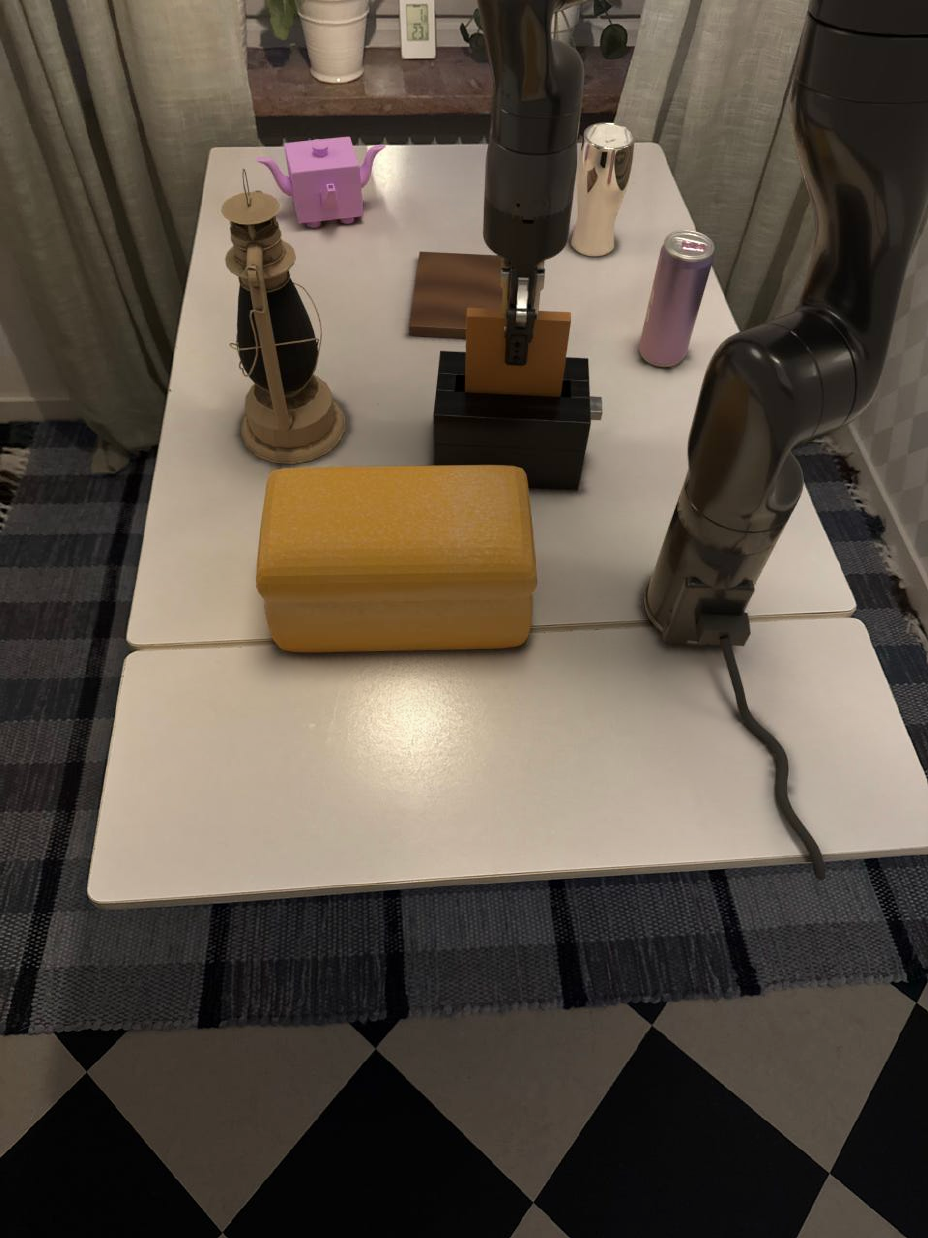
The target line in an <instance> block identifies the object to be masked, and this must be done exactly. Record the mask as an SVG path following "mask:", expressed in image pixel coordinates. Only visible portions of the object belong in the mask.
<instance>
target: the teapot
mask: <svg viewBox="0 0 928 1238" xmlns="http://www.w3.org/2000/svg"><path fill="white" fill-rule="evenodd" d="M283 146H284V147H283V148H284V153H285V161H286V166H287V172H288V173H287V174H288V175H285V174H284V173H283V172H282V171H281V169H280V168H279V165H278V164H277V162H276V161H275V160H274V159H272V158H270V157H267V156H266V157H265V156H263V157H262V156H261V157H256V158H255V159H254V161H256V162H257V163H260V164H263V165H264V166H265V167H267V168H268V170H269V171H270V173H271V175H272V176H273V179H274V181H275V183H276V186H277V187H278V188H279V189H280V191H281V192H282V193H283V194H284V195H286V196H287V197H291V198H292V201H293V206H294V209H295V214H296V218H297V222H298V224H306V225H307V226H308V227H309V228H312V229H313V228H319V227H320V226H321V225H322V222H325V221H332V220H340V222H341V223H342V224H345V225H346V224H347V225H348V224H352V223H353V222H354V221H355V219H354V218H358V217H364V216H365V214H364V204H363V203H364V202H363V201H364V200H363V189H364V188H365V187H366V186H367V185H368V183H369V181H370V178H371V177H372V176H371V175H372V170H373V165H374V161H375V159H376V156H377V155H378V154H379V152H381V151H382V150H384V149H385V148H386V147H387V146H386V145H385V144H377V145H373V146H371V147H370V148H369V149H368V150H367V152H366V154H365V157H364V161H363V163H362V164H361V165H360V164H359V161H358V157H357V154H356V151H355V148H354V145H353V141H352V140H351V137H350V136H341V137H332V138H323V139H319V138H316V139H313V140H304V141H293V142H285V143H284V144H283Z"/></svg>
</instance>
